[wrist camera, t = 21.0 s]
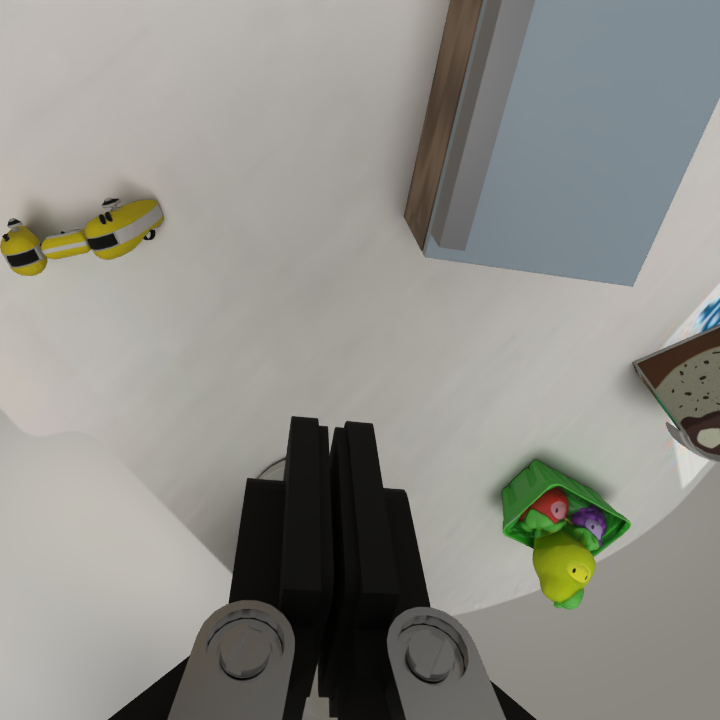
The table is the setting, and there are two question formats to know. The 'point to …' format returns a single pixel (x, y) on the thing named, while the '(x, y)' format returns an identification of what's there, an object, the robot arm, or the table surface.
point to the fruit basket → (560, 529)
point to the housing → (441, 113)
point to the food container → (688, 390)
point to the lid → (574, 133)
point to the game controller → (83, 237)
